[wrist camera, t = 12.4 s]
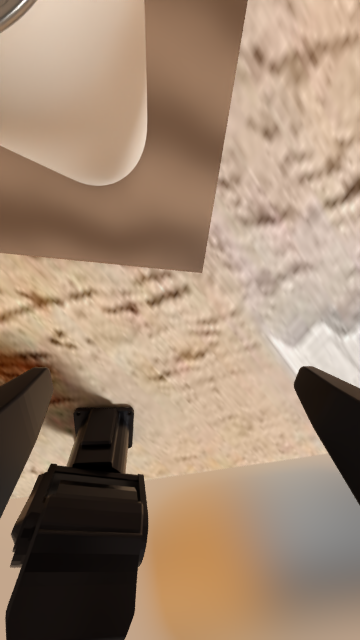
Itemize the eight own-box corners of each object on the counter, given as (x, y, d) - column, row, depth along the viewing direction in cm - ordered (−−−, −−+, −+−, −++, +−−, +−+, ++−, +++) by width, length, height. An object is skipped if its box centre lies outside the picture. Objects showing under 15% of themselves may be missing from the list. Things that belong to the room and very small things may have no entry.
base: (196, 266, 19) (202, 272, 17) (-8, 245, 17) (-32, 249, 14) (238, -9, 13) (257, -57, 10) (-87, -116, 10) (-154, -211, 8)
